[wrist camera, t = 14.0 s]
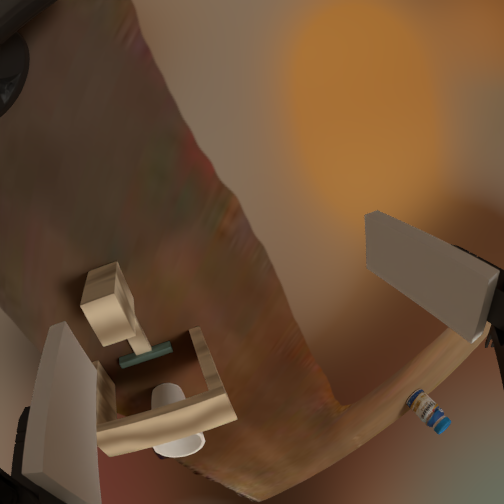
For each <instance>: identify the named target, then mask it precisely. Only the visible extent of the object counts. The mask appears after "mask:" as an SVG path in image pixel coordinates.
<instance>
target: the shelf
mask: <svg viewBox="0 0 504 504" xmlns="http://www.w3.org/2000/svg"><path fill="white" fill-rule="evenodd" d="M189 332H190V336H191V339H192V342H193V345H194V348H195V351H196V354H197V357H198V360H199V363H200V366H201V369H202V372H203V375H204V377H205V380H206V383H207V386H208V389H209V391H207V392H204V393H201V394H198V395H196V396H193V397H190V398H187V399H184V400H181V401H178V402H175V403H172V404H168V405H165V406H162V407H159V408H156V409H152V410H149V411H145V412H142V413H139V414H135V415H132V416H128V417H124V418H121V419H117V413H116V394H115V384H114V383H113V381H112V380H111V379H110V377H109V376H108V374H107V373H106V371H105V370H104V368H103V367H102V365H101V364H100V362H99V361H98V360H97V361H94V362H92V364H93V365H94V367H95V368H96V370H97V385H96V435H97V446H98V447H99V448H100V449H101V450H102V451H104V452H105V453H106V454H107V455H108V456H109V457H112V456H116V455H121V454H125V453H129V452H134V451H138V450H141V449H146V448H150V447H154V446H157V445H161V444H164V443H168V442H171V441H175V440H178V439H181V438H185V437H188V436H191V435H194V434H197V433H200V432H203V431H206V430H209V429H212V428H215V427H218V426H221V425H223V424H226V423H229V422H231V421H234V420H237V417H236V414H235V412H234V410H233V407H232V405H231V403H230V400H229V398H228V396H227V393H226V391H225V389H224V386H223V384H222V381H221V379H220V376H219V374H218V371H217V369H216V366H215V364H214V361H213V359H212V356H211V354H210V351H209V349H208V346H207V344H206V342H205V339H204V337H203V334H202V332H201V329H200V326H198V327H195V328H192V329H189Z"/></svg>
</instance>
